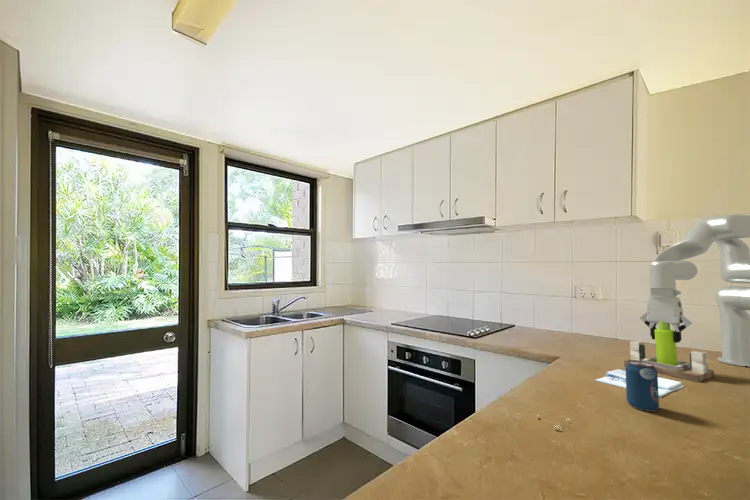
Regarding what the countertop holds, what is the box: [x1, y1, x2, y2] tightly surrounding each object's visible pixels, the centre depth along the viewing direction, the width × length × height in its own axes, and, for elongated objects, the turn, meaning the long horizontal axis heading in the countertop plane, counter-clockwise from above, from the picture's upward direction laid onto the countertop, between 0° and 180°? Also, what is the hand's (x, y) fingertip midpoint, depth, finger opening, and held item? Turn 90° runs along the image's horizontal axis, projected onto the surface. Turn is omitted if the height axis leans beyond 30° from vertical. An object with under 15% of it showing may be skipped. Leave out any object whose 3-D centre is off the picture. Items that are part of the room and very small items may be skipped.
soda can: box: [624, 359, 660, 412], centre depth 92 cm, size 7×7×12 cm
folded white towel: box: [595, 368, 685, 399], centre depth 111 cm, size 19×20×2 cm
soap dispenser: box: [654, 321, 678, 366], centre depth 126 cm, size 6×7×20 cm
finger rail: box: [623, 340, 715, 383], centre depth 126 cm, size 14×22×9 cm, turn 28°
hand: (665, 340), depth 127 cm, fingers open, 6 cm apart
